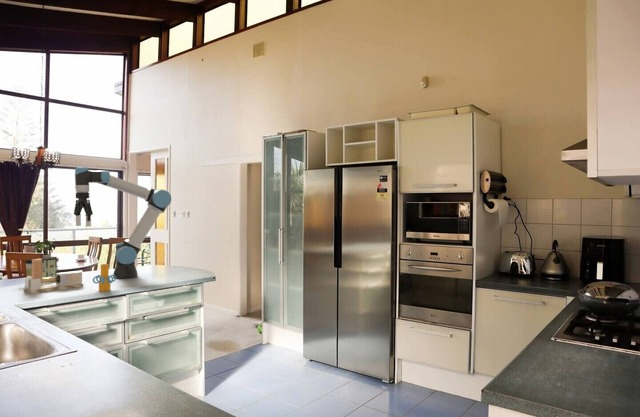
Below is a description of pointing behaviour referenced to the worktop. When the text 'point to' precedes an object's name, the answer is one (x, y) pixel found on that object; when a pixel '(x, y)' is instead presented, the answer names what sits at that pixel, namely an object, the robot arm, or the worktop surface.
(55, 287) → the birch board
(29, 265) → the olive storage canister
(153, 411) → the worktop surface
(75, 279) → the pale grey block
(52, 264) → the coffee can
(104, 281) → the orange post with rings
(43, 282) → the pink l-shaped block
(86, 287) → the worktop surface
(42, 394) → the worktop surface
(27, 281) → the end socket
